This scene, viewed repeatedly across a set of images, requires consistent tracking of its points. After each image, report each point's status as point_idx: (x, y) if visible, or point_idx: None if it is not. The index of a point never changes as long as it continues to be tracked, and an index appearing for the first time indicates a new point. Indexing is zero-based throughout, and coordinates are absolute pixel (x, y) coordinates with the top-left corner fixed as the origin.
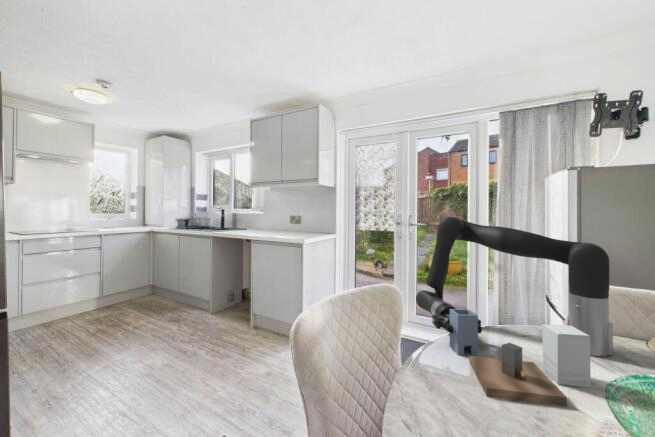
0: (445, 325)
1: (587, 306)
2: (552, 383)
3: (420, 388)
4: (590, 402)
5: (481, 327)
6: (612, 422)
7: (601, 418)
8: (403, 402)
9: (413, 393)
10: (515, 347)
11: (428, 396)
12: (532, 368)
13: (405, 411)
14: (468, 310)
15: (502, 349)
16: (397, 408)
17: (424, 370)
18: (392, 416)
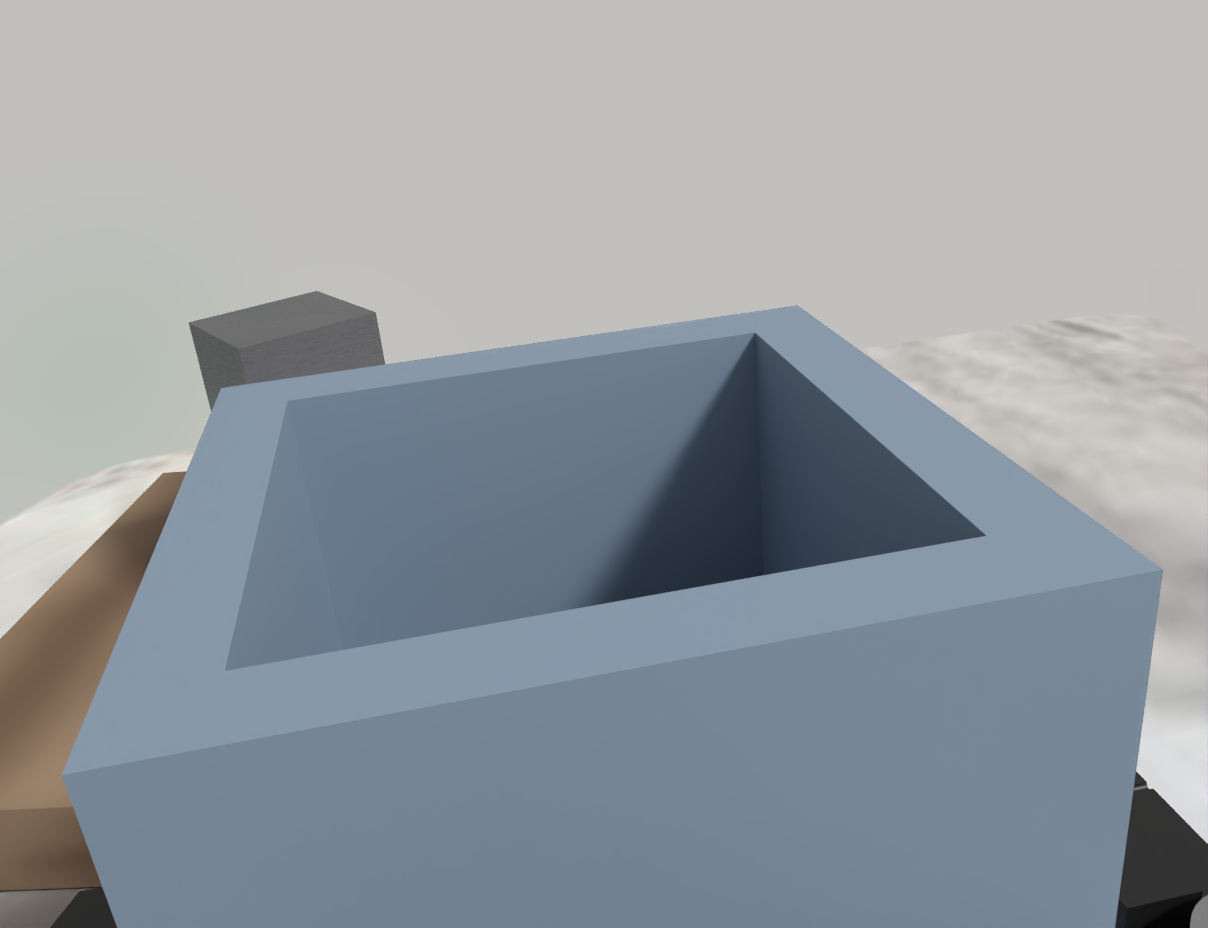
0: (1165, 810)
1: None
2: (93, 554)
3: (1122, 467)
4: None
5: (89, 890)
6: (56, 493)
7: (80, 502)
8: (1169, 386)
9: (1147, 433)
10: (264, 311)
11: (1041, 435)
12: (15, 695)
13: (1126, 360)
14: (219, 617)
15: (378, 356)
16: (1177, 362)
17: (1195, 625)
18: (1172, 338)
